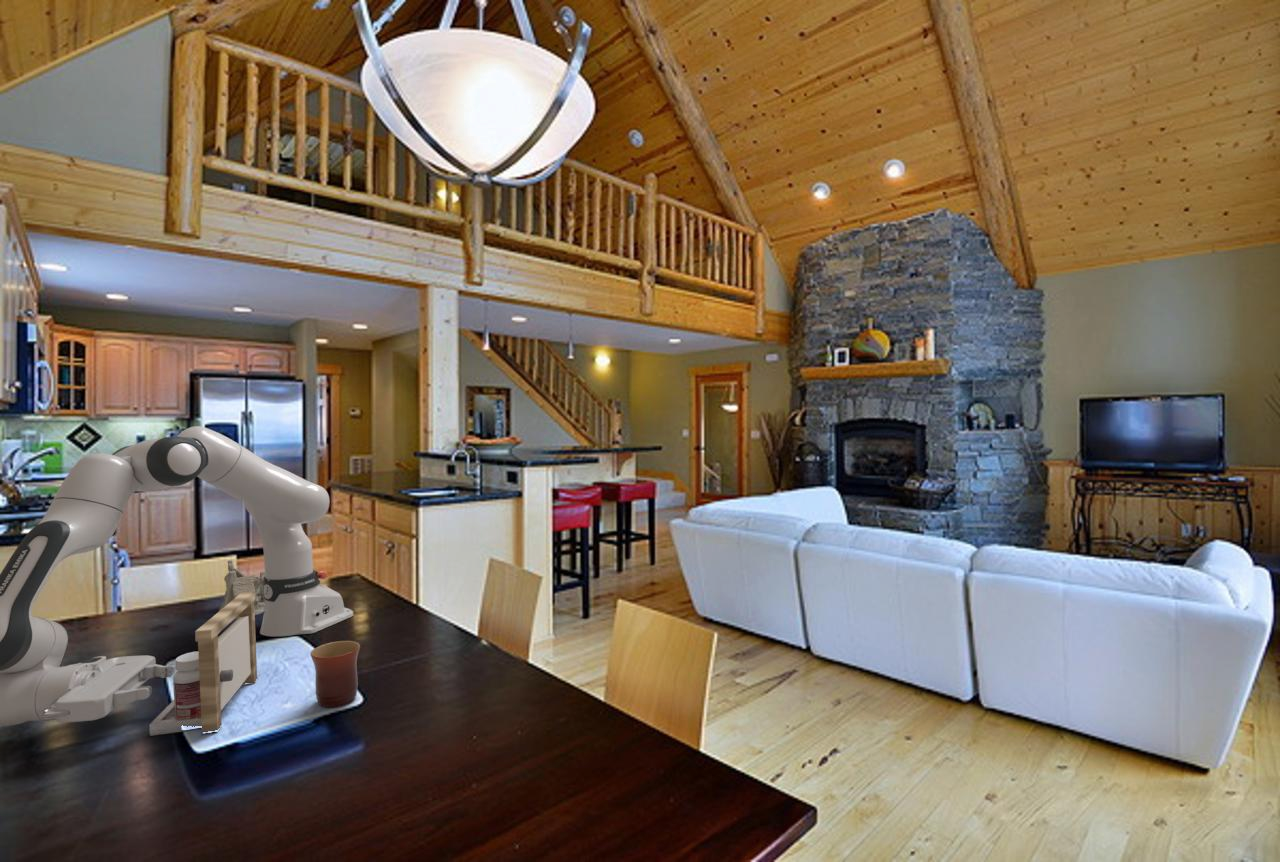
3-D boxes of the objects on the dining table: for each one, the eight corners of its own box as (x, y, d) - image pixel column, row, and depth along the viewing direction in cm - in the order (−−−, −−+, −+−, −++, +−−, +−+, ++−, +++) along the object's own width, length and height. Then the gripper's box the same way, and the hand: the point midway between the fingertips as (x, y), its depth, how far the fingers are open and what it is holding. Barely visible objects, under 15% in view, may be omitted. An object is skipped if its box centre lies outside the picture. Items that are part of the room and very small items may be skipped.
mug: (352, 709, 120) (350, 656, 119) (304, 712, 119) (302, 658, 119) (373, 682, 132) (371, 634, 131) (330, 684, 131) (328, 635, 131)
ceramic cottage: (218, 621, 172) (220, 566, 172) (219, 608, 186) (220, 557, 186) (284, 614, 180) (286, 561, 181) (279, 602, 194) (281, 553, 195)
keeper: (175, 709, 121) (174, 698, 121) (228, 702, 124) (227, 692, 124) (149, 735, 111) (149, 724, 111) (208, 728, 114) (207, 717, 114)
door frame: (245, 679, 134) (242, 591, 134) (258, 677, 135) (255, 590, 134) (199, 737, 110) (195, 631, 110) (215, 735, 111) (210, 629, 110)
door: (242, 674, 131) (239, 617, 131) (259, 672, 132) (257, 615, 131) (208, 714, 114) (206, 648, 113) (229, 711, 115) (226, 646, 114)
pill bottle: (219, 714, 118) (217, 655, 118) (179, 727, 114) (177, 665, 113) (209, 704, 122) (207, 647, 122) (171, 716, 118) (168, 656, 117)
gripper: (32, 699, 102) (133, 687, 106) (101, 653, 122) (184, 644, 126) (34, 737, 102) (135, 724, 106) (102, 685, 122) (185, 676, 126)
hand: (162, 681), depth 116 cm, fingers open, 8 cm apart
